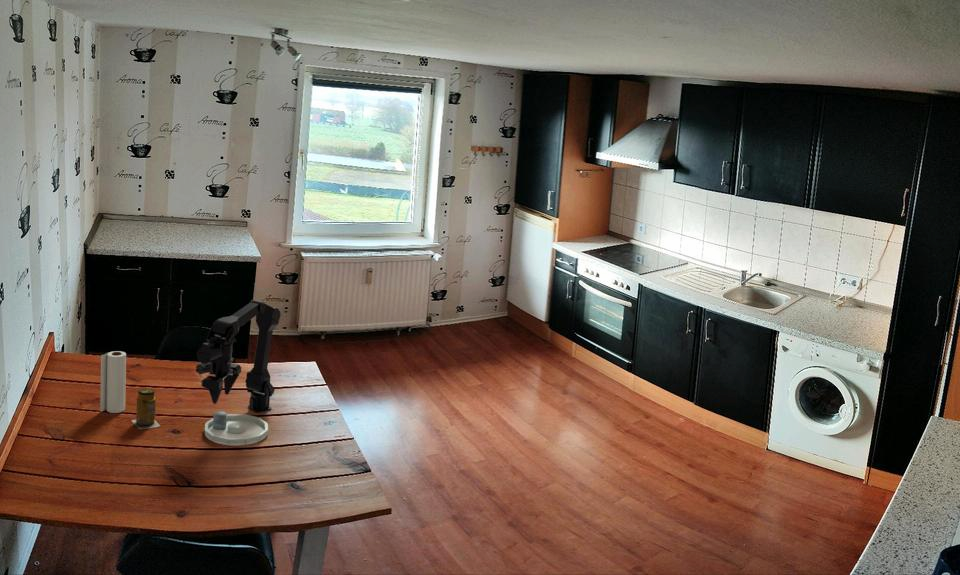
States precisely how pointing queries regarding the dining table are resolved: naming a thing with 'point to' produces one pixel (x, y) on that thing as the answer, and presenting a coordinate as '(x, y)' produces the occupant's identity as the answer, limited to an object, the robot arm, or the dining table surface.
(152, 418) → the condiment
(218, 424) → the blue-grey short cylinder
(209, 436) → the tray
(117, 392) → the paper towel roll
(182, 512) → the dining table surface
